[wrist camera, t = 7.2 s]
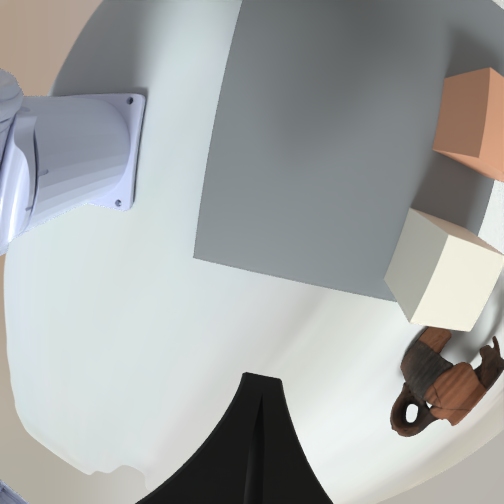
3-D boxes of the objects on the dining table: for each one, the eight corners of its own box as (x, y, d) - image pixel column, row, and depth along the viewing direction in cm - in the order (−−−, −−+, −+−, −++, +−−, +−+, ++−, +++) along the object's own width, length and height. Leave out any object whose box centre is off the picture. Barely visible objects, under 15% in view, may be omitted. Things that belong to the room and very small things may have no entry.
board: (197, 252, 19) (193, 257, 18) (270, -75, 9) (269, -82, 8) (439, 304, 19) (444, 311, 18) (498, 13, 9) (505, 11, 8)
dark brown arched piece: (453, 288, 19) (522, 345, 12) (456, 320, 25) (505, 363, 18) (354, 397, 20) (411, 467, 14) (383, 401, 26) (425, 450, 19)
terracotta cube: (432, 149, 14) (478, 157, 9) (444, 78, 12) (490, 67, 7) (485, 176, 14) (532, 193, 9) (497, 111, 12) (544, 113, 7)
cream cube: (383, 278, 18) (409, 322, 13) (409, 207, 16) (448, 234, 11) (439, 291, 17) (470, 331, 13) (464, 228, 15) (506, 257, 11)
